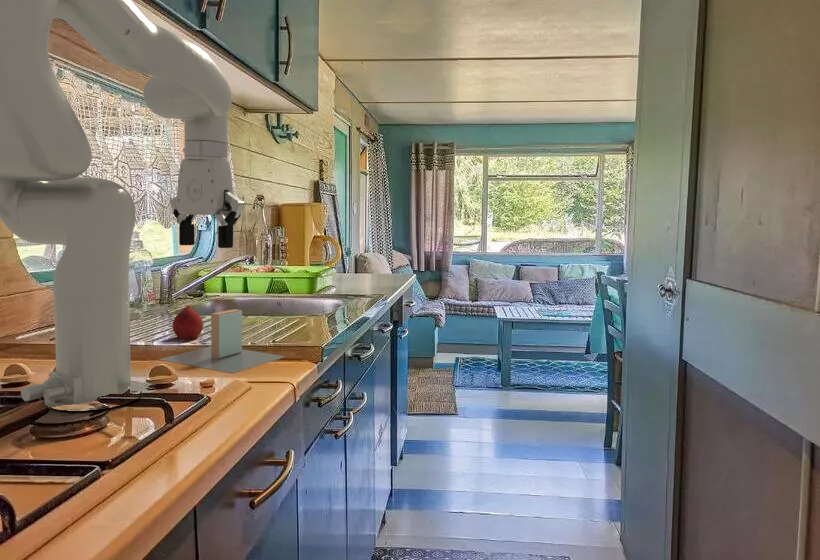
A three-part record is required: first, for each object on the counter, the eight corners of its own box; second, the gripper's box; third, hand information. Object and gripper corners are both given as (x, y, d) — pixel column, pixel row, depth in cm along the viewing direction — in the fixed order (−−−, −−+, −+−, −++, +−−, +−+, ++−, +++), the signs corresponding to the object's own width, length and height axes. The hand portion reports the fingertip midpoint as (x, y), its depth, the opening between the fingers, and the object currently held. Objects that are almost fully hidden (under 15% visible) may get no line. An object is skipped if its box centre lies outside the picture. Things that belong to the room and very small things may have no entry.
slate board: (232, 380, 102) (232, 373, 102) (158, 366, 109) (158, 359, 109) (286, 362, 114) (286, 356, 114) (216, 351, 122) (216, 345, 122)
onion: (193, 347, 124) (192, 307, 123) (167, 345, 125) (166, 306, 125) (208, 341, 130) (208, 303, 129) (183, 339, 131) (182, 302, 130)
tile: (219, 359, 111) (219, 314, 110) (211, 357, 112) (211, 313, 111) (242, 352, 116) (242, 310, 115) (234, 351, 117) (234, 309, 116)
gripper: (156, 151, 115) (156, 244, 116) (226, 149, 107) (226, 249, 108) (187, 155, 121) (187, 243, 123) (256, 154, 113) (255, 248, 115)
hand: (205, 246), depth 116 cm, fingers open, 9 cm apart
